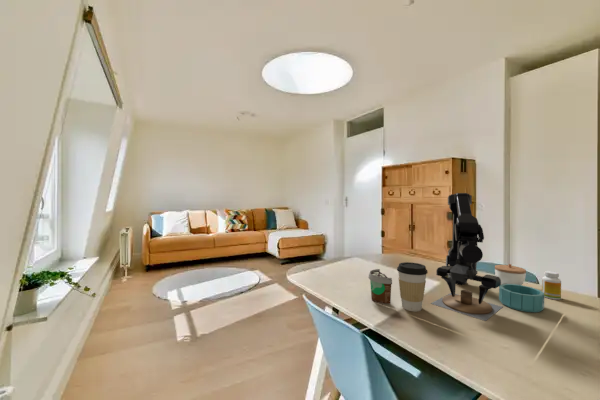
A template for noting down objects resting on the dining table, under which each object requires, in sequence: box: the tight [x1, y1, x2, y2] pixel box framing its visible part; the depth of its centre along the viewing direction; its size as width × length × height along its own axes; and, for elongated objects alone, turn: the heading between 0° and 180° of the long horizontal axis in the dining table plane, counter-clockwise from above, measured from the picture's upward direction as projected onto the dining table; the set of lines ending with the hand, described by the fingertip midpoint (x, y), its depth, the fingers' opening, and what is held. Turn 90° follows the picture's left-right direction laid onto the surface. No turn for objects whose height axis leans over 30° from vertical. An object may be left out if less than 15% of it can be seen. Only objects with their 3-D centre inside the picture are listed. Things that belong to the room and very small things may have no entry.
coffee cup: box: [396, 261, 429, 312], centre depth 93 cm, size 10×10×15 cm
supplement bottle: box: [541, 270, 562, 301], centre depth 104 cm, size 5×5×10 cm
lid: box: [441, 289, 492, 314], centre depth 95 cm, size 15×15×5 cm
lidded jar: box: [494, 263, 527, 285], centre depth 117 cm, size 11×11×9 cm
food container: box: [368, 268, 393, 305], centre depth 101 cm, size 12×6×10 cm, turn 5°
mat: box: [430, 292, 503, 322], centre depth 95 cm, size 17×17×1 cm
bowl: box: [498, 284, 545, 313], centre depth 95 cm, size 12×12×6 cm
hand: (466, 300), depth 95 cm, fingers open, 8 cm apart
